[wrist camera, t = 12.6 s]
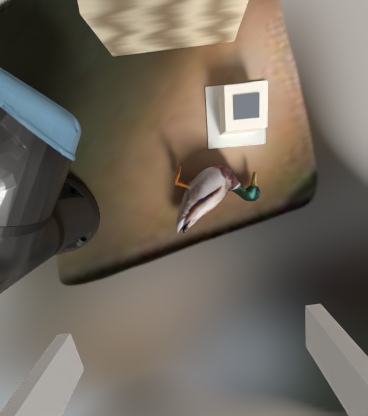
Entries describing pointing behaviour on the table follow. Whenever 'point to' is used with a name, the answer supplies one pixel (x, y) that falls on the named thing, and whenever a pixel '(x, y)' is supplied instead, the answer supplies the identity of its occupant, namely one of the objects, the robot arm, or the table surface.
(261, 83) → the cream cube
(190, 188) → the decorative duck model
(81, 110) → the table surface
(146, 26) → the birch screen
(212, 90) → the felt mat
